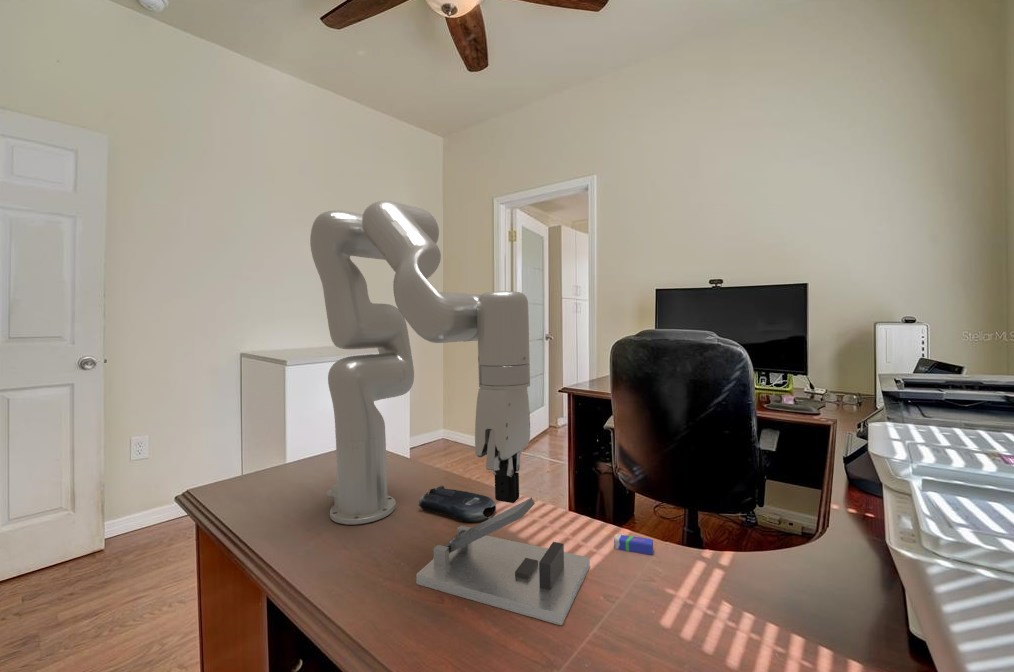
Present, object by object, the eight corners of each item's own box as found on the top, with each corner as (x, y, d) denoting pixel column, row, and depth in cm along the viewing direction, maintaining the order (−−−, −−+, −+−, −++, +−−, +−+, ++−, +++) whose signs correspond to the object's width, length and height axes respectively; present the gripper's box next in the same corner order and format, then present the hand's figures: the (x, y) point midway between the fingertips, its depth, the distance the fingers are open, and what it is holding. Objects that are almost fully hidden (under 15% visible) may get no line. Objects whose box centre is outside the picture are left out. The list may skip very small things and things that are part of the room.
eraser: (616, 544, 74) (615, 532, 74) (653, 550, 71) (653, 538, 71) (614, 550, 72) (614, 538, 72) (652, 557, 70) (652, 544, 70)
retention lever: (443, 557, 67) (439, 548, 67) (460, 542, 71) (456, 534, 71) (522, 518, 61) (517, 509, 61) (535, 504, 65) (530, 496, 66)
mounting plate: (416, 584, 63) (415, 550, 63) (465, 539, 76) (464, 511, 76) (561, 625, 54) (561, 586, 54) (589, 566, 67) (589, 534, 67)
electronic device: (416, 522, 87) (480, 526, 80) (415, 493, 88) (478, 494, 81) (444, 510, 95) (504, 513, 88) (443, 483, 96) (502, 484, 89)
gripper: (502, 370, 72) (505, 479, 73) (455, 382, 59) (459, 516, 59) (545, 371, 69) (548, 485, 70) (506, 384, 55) (509, 526, 56)
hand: (507, 499), depth 64 cm, fingers closed
